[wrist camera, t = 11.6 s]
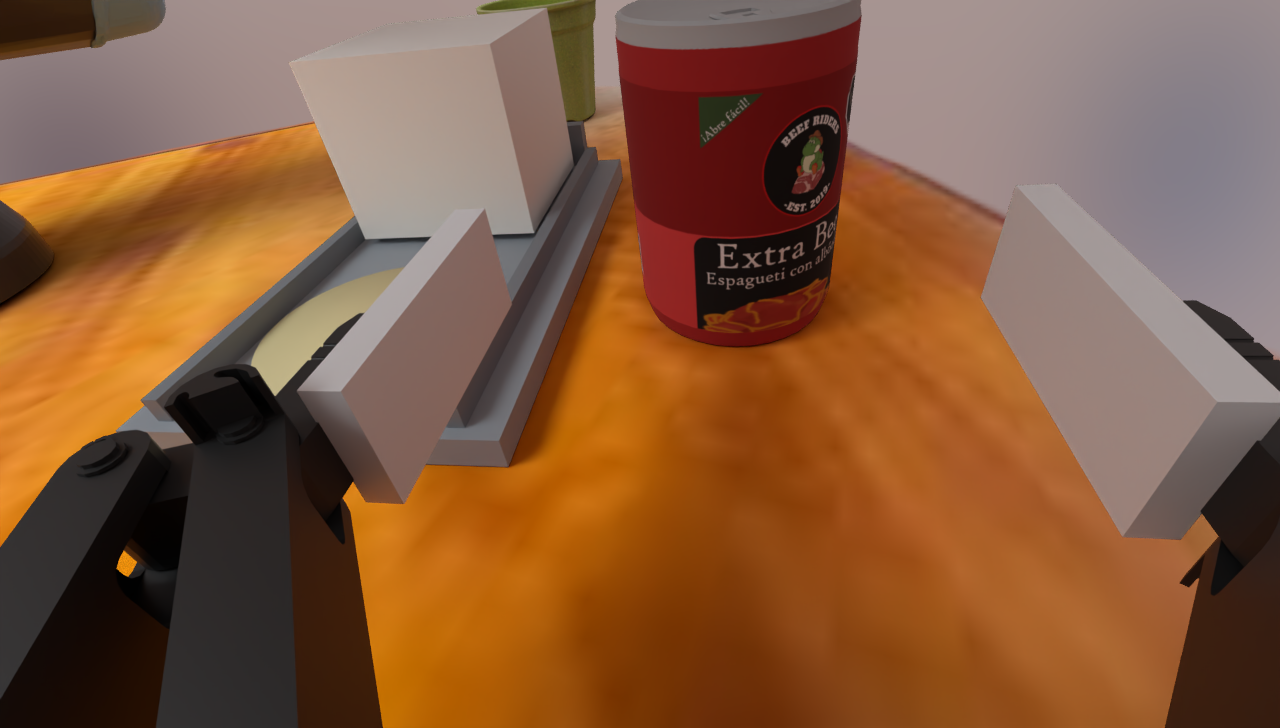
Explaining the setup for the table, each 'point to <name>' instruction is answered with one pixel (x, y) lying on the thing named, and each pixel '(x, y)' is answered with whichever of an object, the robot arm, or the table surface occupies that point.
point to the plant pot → (565, 48)
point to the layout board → (364, 268)
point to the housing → (443, 121)
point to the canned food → (737, 157)
